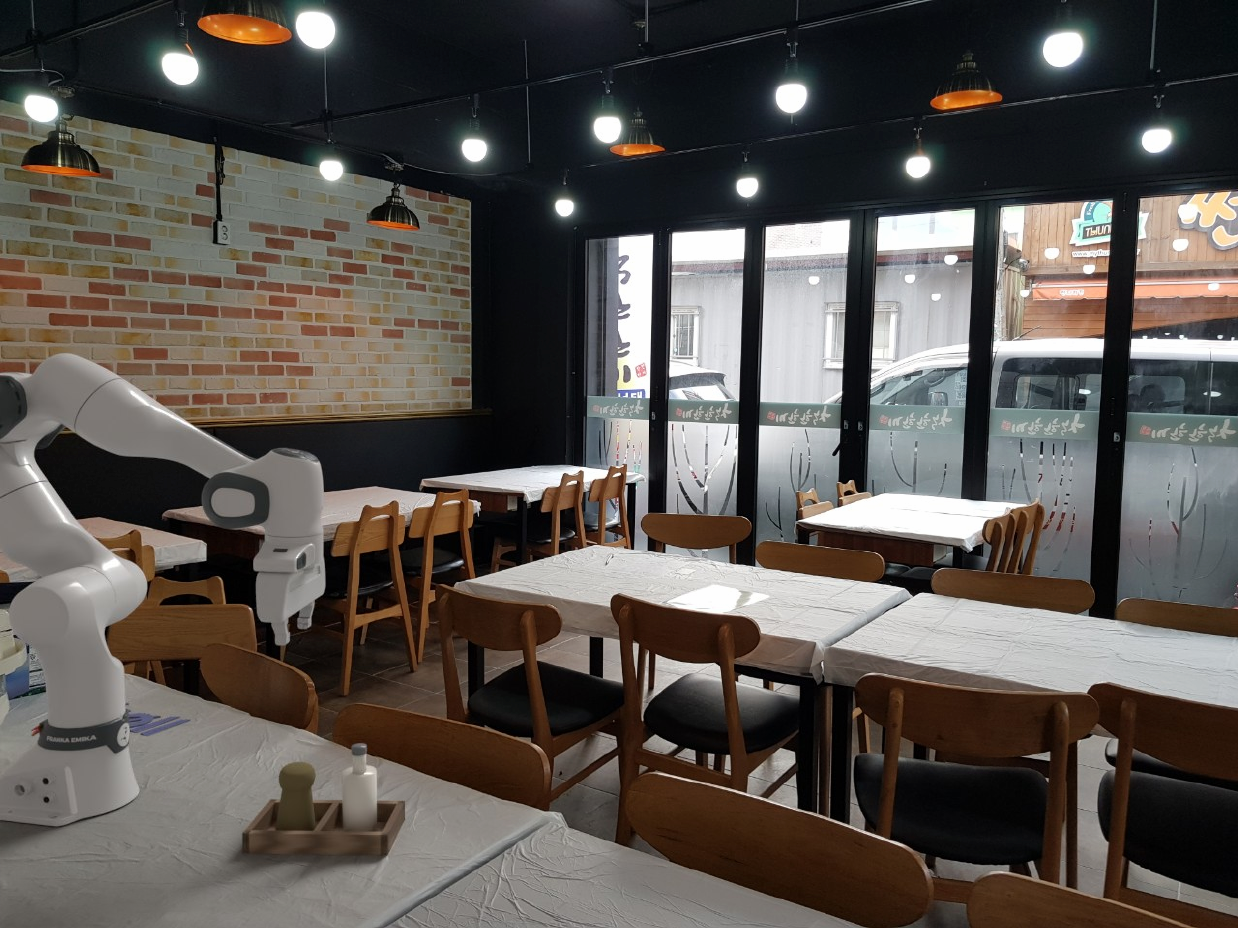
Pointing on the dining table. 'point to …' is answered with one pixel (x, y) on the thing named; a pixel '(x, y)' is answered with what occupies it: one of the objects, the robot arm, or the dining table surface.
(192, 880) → the dining table surface
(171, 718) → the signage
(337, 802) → the condiment caddy
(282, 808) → the olive green pepper mill
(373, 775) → the cruet bottle
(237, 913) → the dining table surface
